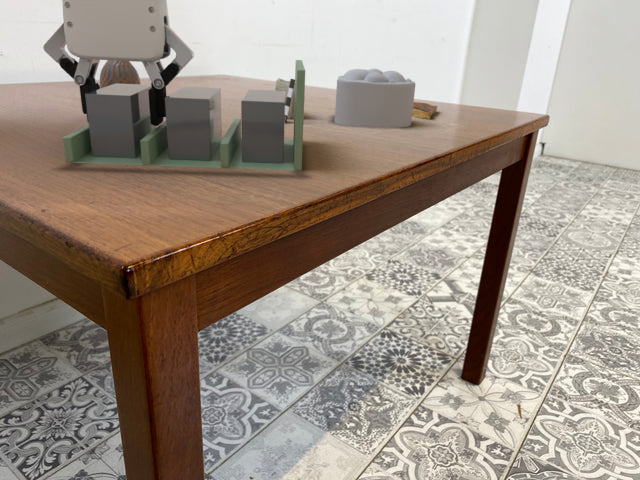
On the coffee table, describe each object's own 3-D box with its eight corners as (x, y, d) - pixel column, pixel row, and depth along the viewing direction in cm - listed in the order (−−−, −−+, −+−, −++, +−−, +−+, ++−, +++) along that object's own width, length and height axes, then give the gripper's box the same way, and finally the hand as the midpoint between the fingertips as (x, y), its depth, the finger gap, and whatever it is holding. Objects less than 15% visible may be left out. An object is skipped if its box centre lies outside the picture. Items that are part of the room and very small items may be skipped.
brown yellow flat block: (429, 120, 95) (430, 110, 94) (388, 116, 97) (389, 106, 96) (438, 113, 104) (439, 104, 103) (400, 109, 106) (401, 100, 106)
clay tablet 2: (241, 162, 56) (241, 100, 54) (248, 142, 66) (248, 89, 63) (283, 163, 57) (284, 102, 54) (284, 144, 66) (285, 91, 63)
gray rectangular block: (92, 156, 55) (84, 93, 53) (120, 137, 64) (115, 83, 62) (135, 158, 56) (130, 95, 53) (157, 139, 65) (153, 85, 62)
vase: (127, 100, 100) (122, 51, 97) (149, 104, 96) (146, 54, 93) (94, 102, 95) (88, 51, 91) (117, 107, 91) (111, 54, 88)
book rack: (66, 171, 53) (51, 58, 49) (112, 141, 67) (103, 50, 63) (301, 179, 55) (305, 70, 51) (299, 148, 69) (302, 60, 64)
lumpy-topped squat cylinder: (336, 116, 94) (339, 65, 91) (408, 120, 94) (413, 70, 91) (333, 126, 85) (336, 70, 82) (413, 131, 84) (420, 75, 81)
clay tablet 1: (168, 159, 56) (164, 97, 53) (185, 140, 65) (183, 86, 63) (210, 160, 56) (209, 99, 54) (222, 141, 65) (220, 88, 63)
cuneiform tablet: (285, 124, 84) (258, 111, 94) (309, 128, 86) (280, 115, 96) (294, 79, 82) (266, 71, 92) (318, 85, 84) (288, 76, 94)
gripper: (203, -49, 56) (208, 120, 63) (37, -59, 55) (61, 114, 62) (191, -59, 49) (198, 132, 56) (1, -71, 48) (32, 125, 55)
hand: (126, 121), depth 59 cm, fingers open, 6 cm apart
